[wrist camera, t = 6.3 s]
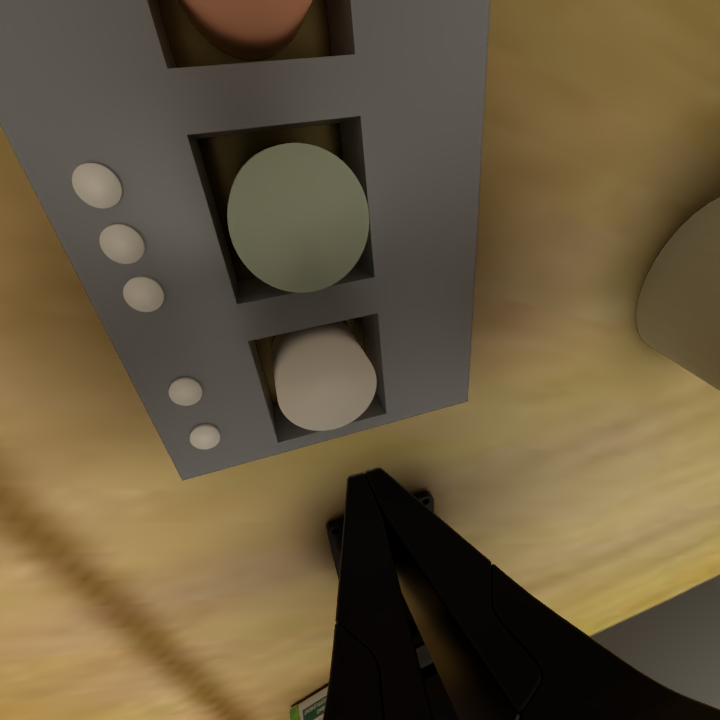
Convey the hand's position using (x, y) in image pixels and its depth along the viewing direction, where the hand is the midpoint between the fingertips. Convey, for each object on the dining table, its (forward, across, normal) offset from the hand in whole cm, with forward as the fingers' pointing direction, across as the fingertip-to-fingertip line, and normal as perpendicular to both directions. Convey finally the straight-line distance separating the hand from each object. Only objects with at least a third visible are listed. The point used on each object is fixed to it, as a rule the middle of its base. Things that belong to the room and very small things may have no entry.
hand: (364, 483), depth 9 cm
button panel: (+8, 0, -6) cm, 10 cm away
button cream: (+9, 0, 0) cm, 9 cm away
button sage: (+7, 0, -6) cm, 9 cm away
